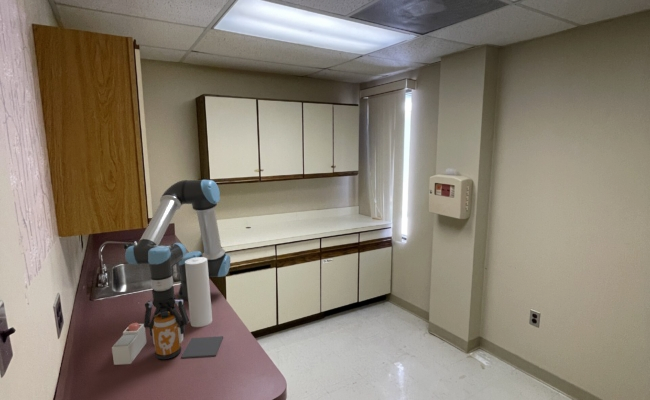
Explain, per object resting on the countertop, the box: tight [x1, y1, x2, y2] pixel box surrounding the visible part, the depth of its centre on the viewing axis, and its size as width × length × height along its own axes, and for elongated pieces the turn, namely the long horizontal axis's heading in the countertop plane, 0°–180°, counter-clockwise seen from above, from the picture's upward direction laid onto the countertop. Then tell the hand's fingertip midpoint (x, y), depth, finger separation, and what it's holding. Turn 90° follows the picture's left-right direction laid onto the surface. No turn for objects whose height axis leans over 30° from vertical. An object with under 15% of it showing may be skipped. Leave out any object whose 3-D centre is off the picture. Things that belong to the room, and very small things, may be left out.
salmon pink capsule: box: [127, 322, 140, 331], centre depth 139 cm, size 4×4×8 cm
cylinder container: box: [185, 257, 213, 328], centre depth 157 cm, size 9×9×30 cm
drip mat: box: [180, 335, 224, 359], centre depth 139 cm, size 13×13×1 cm
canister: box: [153, 307, 182, 360], centre depth 135 cm, size 9×11×20 cm
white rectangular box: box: [111, 323, 147, 366], centre depth 136 cm, size 14×6×8 cm, turn 4°
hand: (168, 341), depth 135 cm, fingers closed on canister, 9 cm apart
